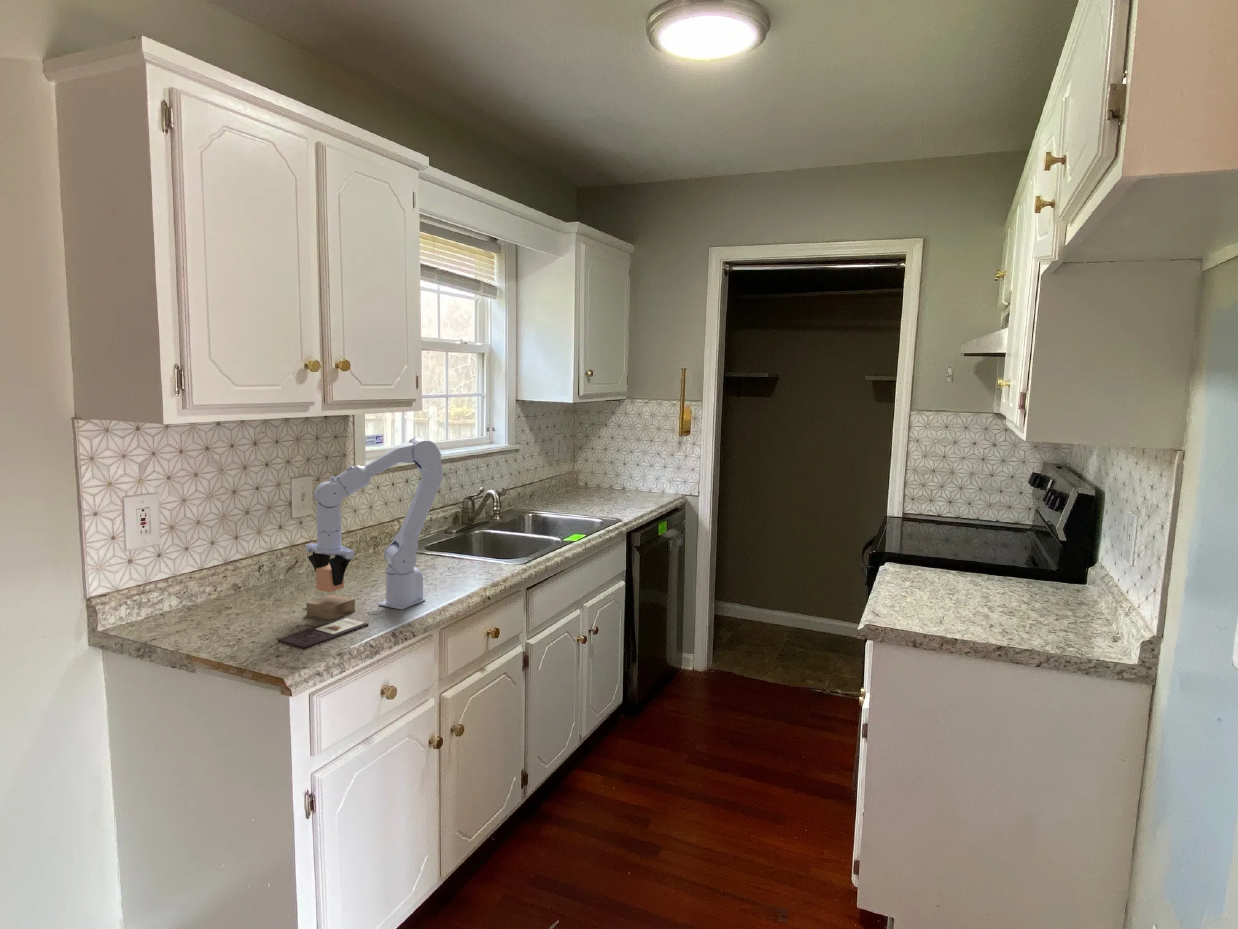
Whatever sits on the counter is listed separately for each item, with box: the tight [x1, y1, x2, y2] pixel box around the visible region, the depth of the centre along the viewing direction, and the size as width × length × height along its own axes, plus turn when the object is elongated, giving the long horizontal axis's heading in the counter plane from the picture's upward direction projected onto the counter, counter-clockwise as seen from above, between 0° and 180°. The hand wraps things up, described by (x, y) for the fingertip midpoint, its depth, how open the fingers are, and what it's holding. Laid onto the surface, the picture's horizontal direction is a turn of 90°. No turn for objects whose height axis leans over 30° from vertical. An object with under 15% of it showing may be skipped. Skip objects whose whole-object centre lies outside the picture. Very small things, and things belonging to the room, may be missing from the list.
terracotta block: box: [315, 564, 345, 593], centre depth 184 cm, size 4×4×6 cm
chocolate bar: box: [277, 616, 369, 651], centre depth 170 cm, size 9×1×18 cm
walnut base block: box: [306, 594, 356, 621], centre depth 184 cm, size 8×8×4 cm
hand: (330, 583), depth 184 cm, fingers closed on terracotta block, 4 cm apart
